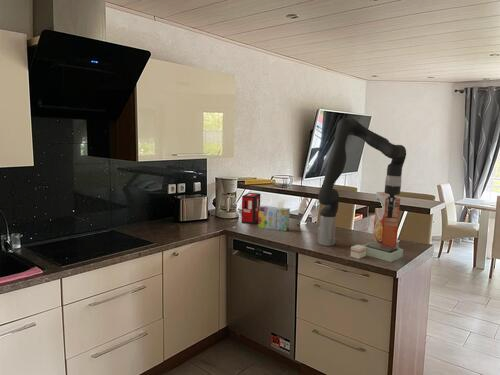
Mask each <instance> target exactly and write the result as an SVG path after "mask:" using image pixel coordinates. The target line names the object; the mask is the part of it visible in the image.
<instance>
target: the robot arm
mask: <svg viewBox="0 0 500 375" xmlns="http://www.w3.org/2000/svg"><path fill="white" fill-rule="evenodd" d="M349 136H354V137H357V138H360V139H362V141H364V142H365V143H366V144H367V145H368V146H370V147H371V148H373V149H375V150H377V151H379V152H380V153H381V154H382V155H384V156H385V157H387V158H389V159H391V162H390V163H389V164H388V165H387V168H386V175H385V176H386V177H385V182H384V183H385V184H384V191H383V192H385V193H386V194H389V195H390V196H389V197H388V199H387V201H388V203H387V206H388V216H387V217H390V218H392V213H393V209H394V208H393V207H394V206H395V201H396V197H397V195H398V196H399V195H400V194H401V188H402V174H403V166H404V163H405V160H406V157H407V149H406V147H405V146H404V145H402V144H394V143H392V142H390V141H389V139H388V138H386V137H385V136H381V135H380V134H378V133H376V132H374V131H372V130H370V129H368V128H367V127H365V125H363V124H361V123H360V122H359V121H357V120H356V119H354V118H352V117H351V118H350V117H349V118H348V117H343V118H340V119H339V121H337V124H336V129H335V135H334V140H333V143H332V144H333V145H332V149H331V153H330V156H329V160H328V163H327V164H328V165H327V168H326V170H325V172H326V173H325V175H324V179H323V181H322V184H321V187H320V190H319V191H318V192H319V193H318V197H317V198H318V202H319V203H320V205H322V206H324V207H323V208H322V209H321V210H320V211H319V212H320V213H319V215H320V216H319V226H318V227H317V241H316V242H317V244H319V245H321V246H325V247H326V246H327V247H328V246H329V247H331V246H332V247H333V246H334V245H335V237H336V223H337V221H336V220H337V212H338V211H339V203H340V202H339V201H340V195H339V192H338V190H337V189H335V188H334V186H335V184H336V182H337V181H338V179H339V178H340V176H341V175H342V174H343V172H344V169H345V167H346V163H347V158H348V157H347V151H346V150H347V149H346V143H347V140H348V137H349ZM394 196H396V197H394Z"/></svg>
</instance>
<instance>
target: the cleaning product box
mask: <svg viewBox="0 0 500 375" xmlns="http://www.w3.org/2000/svg"><path fill="white" fill-rule="evenodd" d="M259 206H261V193H259V192H248V193H245V194H243V195H242V196H241V224H245V225H255V224H256V223H257V222H258V220H259Z"/></svg>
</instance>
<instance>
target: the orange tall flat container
mask: <svg viewBox="0 0 500 375" xmlns="http://www.w3.org/2000/svg"><path fill="white" fill-rule="evenodd" d="M375 194H376V195H375V200H376V199H377V200H378V201H379V202H380V203H381V206H382V208H375V207H374V208H375V209H374V221H373V225H374V226H373V233H372V235H373V236H372V239H373V240H374V242H375V241H376V242H378V243H382V244H386V245H390V246H394V247H397V242H398V231H399V230H398V229H399V217H400V216H399V215H400V207H401V206H400V205H401V198H400V197H398V196H397V195H395V196H394V197H396V201H395V206H394V207H393V208H394V209H393V213H392V218H390V217H387V216H388V206H387V203H388V201H387V199H388V197H389V196H390V195H389V194H386V193H385V192H384V191H382V192H381V191H376V193H375Z"/></svg>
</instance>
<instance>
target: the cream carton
mask: <svg viewBox="0 0 500 375" xmlns="http://www.w3.org/2000/svg"><path fill="white" fill-rule="evenodd" d="M362 245H363V244H355V245H352V246H351V247H350V258H351V257H353V258H355V259H361V258H364V257H366V256H367V255H366V247H365V246H362Z"/></svg>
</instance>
